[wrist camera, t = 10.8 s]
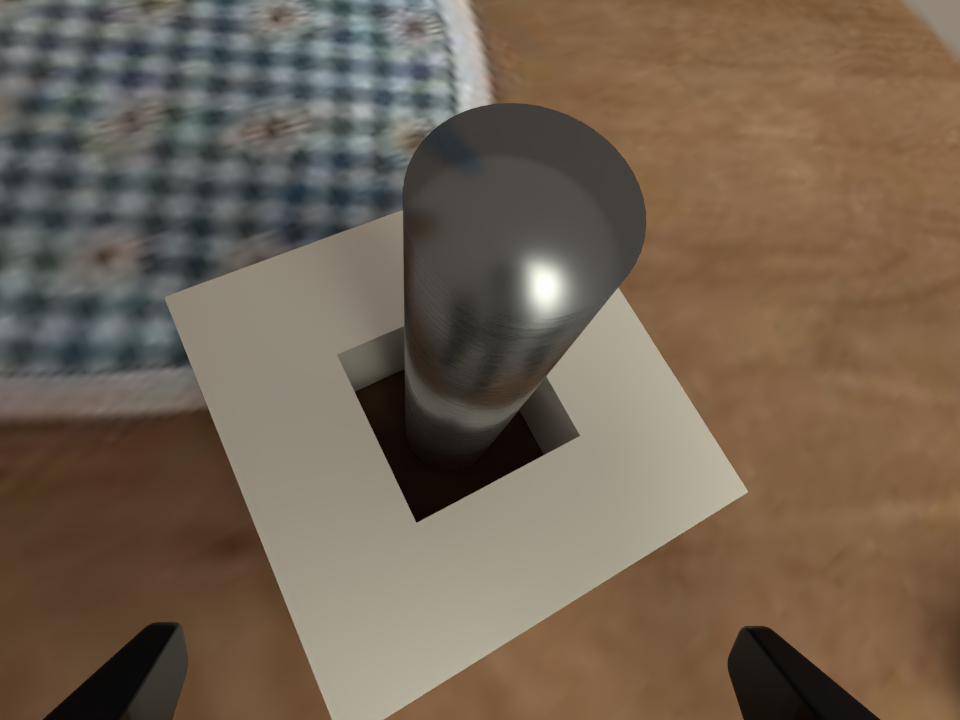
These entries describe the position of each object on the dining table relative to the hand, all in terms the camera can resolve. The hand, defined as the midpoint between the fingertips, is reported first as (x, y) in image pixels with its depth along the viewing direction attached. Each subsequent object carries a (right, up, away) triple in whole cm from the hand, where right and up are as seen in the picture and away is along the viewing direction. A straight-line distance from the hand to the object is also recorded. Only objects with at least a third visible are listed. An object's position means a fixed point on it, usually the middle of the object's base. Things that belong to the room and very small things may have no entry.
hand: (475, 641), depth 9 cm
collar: (-1, +2, +10) cm, 10 cm away
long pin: (-1, +2, +10) cm, 10 cm away
